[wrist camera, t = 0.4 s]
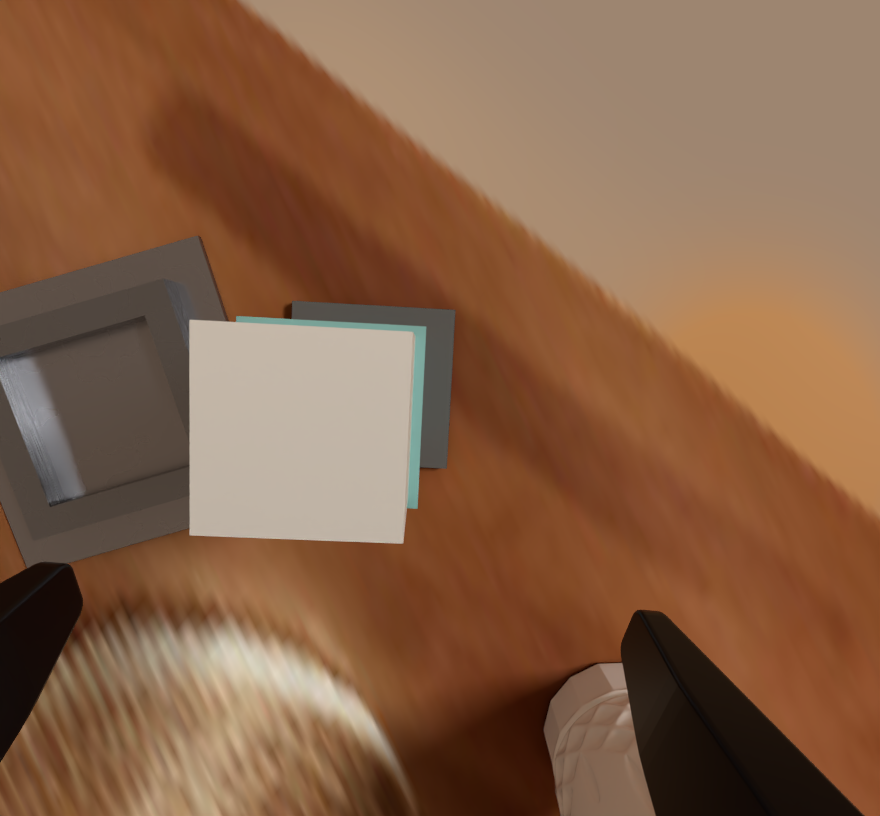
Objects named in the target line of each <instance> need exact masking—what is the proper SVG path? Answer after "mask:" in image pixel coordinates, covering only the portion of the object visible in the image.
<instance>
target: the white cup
mask: <svg viewBox="0 0 880 816" xmlns="http://www.w3.org/2000/svg"><path fill="white" fill-rule="evenodd" d="M544 735H545V739H546V743H547V747H548V751H549V756H550V760H551V764H552V767H553V773H554V778H555V793H556V797H557V801H558V804H559V810H560V816H656V815H655V812H654V808H653V804H652V801H651V797H650V794H649V790H648V787H647V783H646V779H645V776H644V772H643V768H642V764H641V761H640V757H639V752H638V747H637V742H636V737H635V731H634V726H633V720H632V714H631V709H630V703H629V698H628V692H627V687H626V681H625V675H624V670H623V664H622V663H603V664H596V665H594V666H592V667H590V668H588V669H586V670H584V671H582V672H580V673H578V674H576V675H574V676H572V677H570V678H569V679H568V680H567V682H566V683H565V684H564V685H563V686H562V688H561V689H560V690H559V691H558V692H557V694H556V695H555V696H554V697H553V698H552V700H551V701H550V705H549V709H548V713H547V717H546V721H545V725H544Z"/></svg>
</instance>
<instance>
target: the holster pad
mask: <svg viewBox="0 0 880 816" xmlns="http://www.w3.org/2000/svg"><path fill="white" fill-rule="evenodd" d="M292 319H298V320H316V321H334V322H352V323H371V324H389V325H407V326H426V344H425V364H424V385H423V405H422V426H421V446H420V467H425V468H447V452H448V434H449V416H450V398H451V379H452V361H453V343H454V325H455V310H445V309H427V308H409V307H391V306H374V305H356V304H338V303H320V302H302V301H292Z"/></svg>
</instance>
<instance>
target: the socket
mask: <svg viewBox="0 0 880 816" xmlns="http://www.w3.org/2000/svg"><path fill="white" fill-rule="evenodd" d="M189 320H206V321H224V322H229V321H228V318H227V315H226V312H225V309H224V306H223V303H222V300H221V297H220V294H219V291H218V288H217V285H216V282H215V279H214V276H213V273H212V270H211V267H210V264H209V261H208V258H207V255H206V252H205V248H204V245H203V242H202V239H201V237H199V236H195V237H191V238H188V239H184V240H181V241H177V242H174V243H171V244H167V245H164V246H160V247H157V248H153V249H150V250H146V251H143V252H139V253H136V254H132V255H129V256H125V257H122V258H119V259H115V260H112V261H108V262H105V263H101V264H98V265H94V266H91V267H87V268H84V269H80V270H77V271H73V272H70V273H67V274H63V275H60V276H56V277H53V278H49V279H46V280H42V281H39V282H35V283H32V284H28V285H25V286H21V287H18V288H15V289H11V290H8V291H4V292H1V293H0V502H1V504H2V507H3V509H4V512H5V514H6V517H7V519H8V522H9V524H10V527H11V529H12V532H13V534H14V537H15V539H16V542H17V544H18V547H19V549H20V552H21V554H22V556H23V559H24V561H25V564H26V566H27V568H29V567H30V566H32V565H34V564H36V563H39V562H57V563H66V564H67V563H70V562H74V561H77V560H80V559H84V558H87V557H91V556H94V555H98V554H101V553H105V552H108V551H112V550H115V549H119V548H122V547H126V546H129V545H132V544H136V543H139V542H143V541H146V540H150V539H153V538H157V537H160V536H164V535H167V534H171V533H174V532H177V531H181V530H184V529H188V528H190V400H189Z"/></svg>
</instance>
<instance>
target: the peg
mask: <svg viewBox="0 0 880 816" xmlns="http://www.w3.org/2000/svg"><path fill="white" fill-rule="evenodd" d="M425 344H426V326H407V325H389V324H371V323H352V322H334V321H316V320H298V319H279V318H261V317H243V316H236V322H224V321H206V320H189V400H190V535H193V536H219V537H245V538H271V539H297V540H323V541H349V542H375V543H401V544H403V540H404V530H405V521H406V511H407V508H415V509H417V507H418V487H419V467H420V446H421V426H422V405H423V385H424V364H425Z"/></svg>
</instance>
